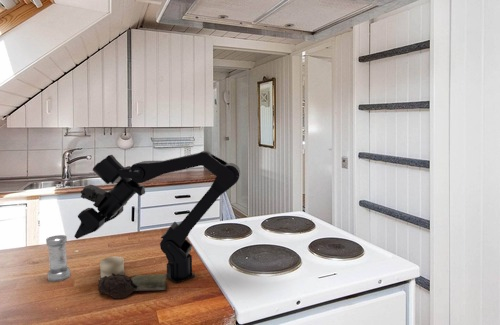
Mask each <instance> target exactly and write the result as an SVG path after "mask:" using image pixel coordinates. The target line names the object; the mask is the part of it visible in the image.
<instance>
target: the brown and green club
mask: <svg viewBox="0 0 500 325" xmlns="http://www.w3.org/2000/svg"><path fill="white" fill-rule="evenodd" d="M167 278H168V277H167V273H159V274H156V273H155V274H141V275H140V274H139V275H138V274H137V275H130V276H128V275H126V274H125V275H121V274H117V275H116V274H115V273H112V275H110V276H108V277H107V276H105V277H103V278H101V279H100V278H99V279H98V281H97V282H98V283H97V291H98V292H99V293H102V294H107V295H108V296H111V297H112V298H113V299H124V298H127V297H128V296H129V295H131V294H133V293H134V292H137V291H140V292H141V291H166V290H167V284H168V283H167V282H168V280H167Z"/></svg>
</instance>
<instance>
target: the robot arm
mask: <svg viewBox="0 0 500 325" xmlns="http://www.w3.org/2000/svg"><path fill="white" fill-rule="evenodd" d="M201 166H203V168H206V170H208V171H209V172H210V173H212V174H213V175H215V178H214V180H213V182H212V183H211V186H210V187H209V189H208V190H206V192H205V193H204V195H203V196H202V197H201V198H200V200H199V201H198V202H197V203H196V204H195V205H194V206H193V208H192V209H191V210H190V211H189V213H188V214H187V215H186V216H185V218H184V219H183V220H182V221H180V222H176V221H174V222H173V223H172V224H171V225H170V226H169V227H168V229H166V231H165V232H164V233H163V234H162V236H161V237H160V238H161V240H160V243H159V247H160V249H161V251H162V253H163V254H164V255H165V256H166V258H167V263H166V274H167V277H166V278H168V279H169V280H171V281H172V282H174V283H175V284H178V283H181V282H184V281H187V280H190V279H192V278H195V277H196V274H195V273H193V259H192V258H193V255H192V254H190V252H191V250H192V247H193V244H192V243H191V242H190V241H188V239H187V238H188V236H189V234H190V233H191V232H192V229H194V228H195V226H196V225H197V223H199V221H200V220H201V219H202V218H203V217H204V215H205V214H206V213H207V212H208V211H209V210H210V209H211V207H212V206H213V205H214V204H215V202H216V201H217V200H218V198H220V196H222V195H223V194H225V192H227V191H228V190H229V189H230V188H232V187H233V186H235V184H237V182H238V181H239V179H240V177H241V176H240V175H241V169H240V167H239V166H238V164H236V163H232V162H227V161H225V160H224V159H223V158H222V159H221V158H220V157H218V156H216V155H214V154H213V153H211V152H210V151H209V150H202V151H200V152H197V153H192V154H187V155H182V156H179V157H174V158H170V159H165V160H143V161H139V162H137V163H133V164H132V165H131V166H130V165H128V166H125V167H124V165H122V164H121V163H120V162H119V161H118V160H117V159H116V157H115V156H114V155H113V154H109V155H107V156H106V157H105V158H103V159H102V160H101V161H99V162H97V163H96V164H95V165H94V166H93V168H92V172H94V173H95V174H96V175H97V176H98V177H99V178H100V179H101V181H102V180H103V182H104V183H105V184H106V185H108V184H112V185H114V184H115V185H114V186H112V188H111V189H110V190H108V191H107V190H105V189H103V188H101V187H98V186H96V185H94V184H88V185H85V186H84V187H83V188H82V190H80V194H81V195H80V198H82V199H85V200H87V201H90V202H92V203H93V204H92V205H93V207H87V208H85V209H83V210H82V211H80V212H79V213H78V214H77V218H78V219H79V221H80V224H79V227H78V228H77V230H76V232H75V234H74V236H73V237H74V238H75V239H76V240H78V239H80V238H82V237H85V236H87V235H89V234H92V233H95V232H97V231H98V230H100V228H102V227H103V225H104V224H105V223H107V222H109V221H111V220H113V219H115V218H117V217H118V216H120V215H121V214H122V213H123V211H124V206H126V205H127V204H128V201H130V200H131V198H133V196H134V195H136V194H137V195H138V196H139V197H141V196H144V195H145V194H146V189H145V187H146V185H145V184H143V183H145V182H147V181H150V180H153V179H155V178H157V177H159V176H162V175H164V174H169V173H174V172H178V171H183V170H187V169H193V168H197V167H201ZM141 184H142V185H141ZM94 207H95V208H97V210H96V209H95V208H94Z"/></svg>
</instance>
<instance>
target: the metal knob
mask: <svg viewBox="0 0 500 325" xmlns="http://www.w3.org/2000/svg"><path fill="white" fill-rule="evenodd" d="M67 238H68V237H67V235H64V234H63V235H62V234H58V235H53V236H49V237H47V238H46V240H45V241H46V243H45V244H46V246H48V258H49V260H48V261H49V262H48V264H49V270H48V271H47V280H48V281H49V282H54V283H55V282H60V281H64V280H66V279H68V278H70V277H71V268H70V267H69V266H68V260H67V247H66V243H67V242H68V239H67Z"/></svg>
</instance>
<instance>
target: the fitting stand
mask: <svg viewBox="0 0 500 325" xmlns="http://www.w3.org/2000/svg"><path fill="white" fill-rule="evenodd" d="M124 259H125V258H123V256H122V257H121V256H109V257H106V258H104V259H101V260H100V265H99V267H100V268H99V269H100V276H99V277H100V278H99V279H101V278H103V277H105V276H107V277H108V276H110V275H112V273H115V274H116V275H117V274H121V275H125V276H126V273H125V272H126V271H125V264H124V263H125V262H124V261H125V260H124Z"/></svg>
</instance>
